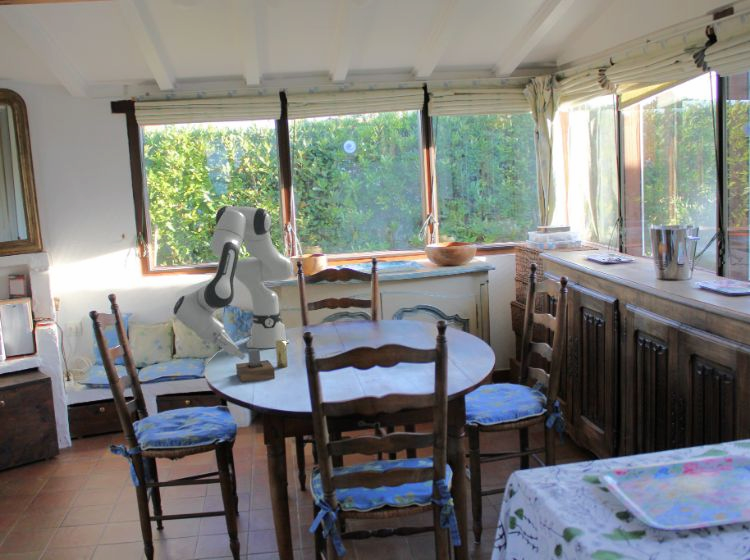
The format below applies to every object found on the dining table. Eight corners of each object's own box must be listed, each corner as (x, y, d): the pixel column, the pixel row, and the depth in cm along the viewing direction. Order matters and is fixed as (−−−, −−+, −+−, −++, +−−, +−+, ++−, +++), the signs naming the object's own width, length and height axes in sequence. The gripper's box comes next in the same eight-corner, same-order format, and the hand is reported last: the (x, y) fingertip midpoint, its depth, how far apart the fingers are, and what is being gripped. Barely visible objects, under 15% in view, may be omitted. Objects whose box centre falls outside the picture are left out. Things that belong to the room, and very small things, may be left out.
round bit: (276, 366, 280) (274, 340, 278) (286, 364, 281) (284, 339, 279) (278, 368, 276) (276, 342, 274) (288, 367, 277) (287, 341, 276)
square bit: (249, 375, 267) (248, 349, 266) (259, 374, 268) (257, 348, 267) (251, 378, 264) (249, 351, 262) (261, 376, 265) (259, 350, 264)
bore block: (236, 374, 270) (236, 363, 269) (268, 370, 274) (267, 360, 273) (241, 382, 259) (241, 371, 258) (274, 378, 262) (274, 367, 262)
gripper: (222, 330, 249) (252, 354, 254) (214, 320, 268) (242, 342, 273) (210, 344, 248) (240, 368, 253) (203, 333, 267) (231, 355, 272)
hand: (241, 354), depth 263 cm, fingers open, 8 cm apart
